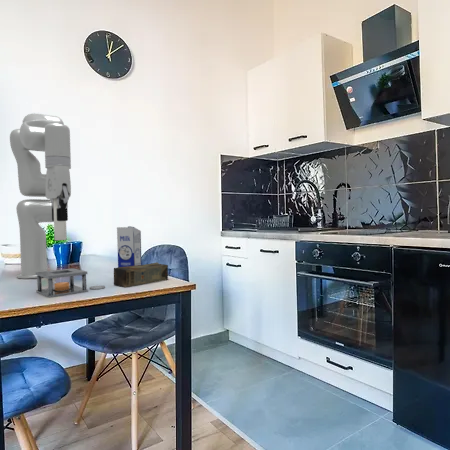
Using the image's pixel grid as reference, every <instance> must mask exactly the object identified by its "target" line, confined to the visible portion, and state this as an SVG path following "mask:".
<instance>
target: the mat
mask: <svg viewBox="0 0 450 450" xmlns="http://www.w3.org/2000/svg"><path fill="white" fill-rule="evenodd" d="M103 289H106V286H105V285H92V286H90V287H89V290H93V291H95V290H97V291H98V290H103Z"/></svg>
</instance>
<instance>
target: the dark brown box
mask: <svg viewBox="0 0 450 450" xmlns="http://www.w3.org/2000/svg"><path fill="white" fill-rule="evenodd" d="M168 279H169V265H168V264H166V263H165V264H164V263H159V262H151V263H146V264H142V265H135V266H126V267H118V266H117V267H114V268H113V285H114V286H118V287H123V288H130V287H135V286H140V285H147V284H151V283H158V282H163V281H167V280H168Z"/></svg>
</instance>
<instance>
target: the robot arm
mask: <svg viewBox="0 0 450 450" xmlns="http://www.w3.org/2000/svg"><path fill="white" fill-rule="evenodd" d="M23 117H24V118H23V120H22V123H21V125H20V128H15V129H13V130H11V132H10V134H9V143H10V144H9V145H10V149H11V153H12V154H13V156H14V159H15V162H16V165H17V177H18V181H17V182H18V188H19V193H20V194H21V195H22V196H24V197H29V199H23V200H20V201H19V202H18V203H17V204H16V214H17V216H16V217H17V219H18V220H17V221H18V228H19V247H20V248H19V249H20V273H18V274H17V275H16V277H17V278H18V279H37V275H36V272H44V271H48V264H47V263H48V261H47V259H48V258H47V256H48V255H47V234H46V231H45V229H44V228H43V227H42V226H41V225H40V224H42V223H54V206H53V199H54V198H57V205H58V208H57V221H66V222H67V221H68V220H69V216H68V207H69V206H68V203H69V200H70V198H71V194H72V185H71V183H72V182H71V173H70V170H71V169H72V162H71V161H72V160H71V159H72V156H71V131H70V128H69V126H68V125H65V124H64V121H63V119H62V118H60V117H59V116H56V115H50V114H42V113H35V112H33V113H29V114H26V115H25V116H23ZM33 151H34V152H44V161H45V162H44V165H45V169H46V173H42V170H41V163H40V161H39V159H38V158H37V157H36V156H35V155H34V154H33V153H32V152H33ZM59 196H63V198H59ZM30 197H31V198H30ZM32 197H33V198H34V197H36V199H35V198H34V199H33V198H32ZM37 198H38V199H37ZM39 198H40V199H39ZM41 198H46V199H41ZM60 200H61V202H60ZM39 223H40V224H39Z"/></svg>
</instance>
